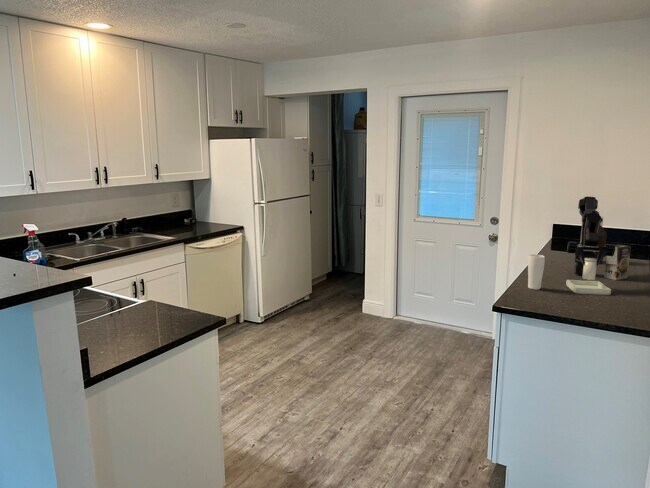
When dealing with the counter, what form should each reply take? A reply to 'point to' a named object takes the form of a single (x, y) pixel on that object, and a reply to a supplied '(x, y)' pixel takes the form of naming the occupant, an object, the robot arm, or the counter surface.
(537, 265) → the drinking glass
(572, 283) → the tray
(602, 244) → the olive oil
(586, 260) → the shaker
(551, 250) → the counter surface
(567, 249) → the robot arm
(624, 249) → the coffee box
